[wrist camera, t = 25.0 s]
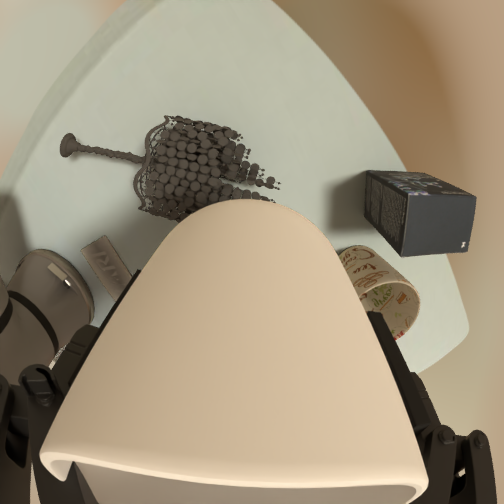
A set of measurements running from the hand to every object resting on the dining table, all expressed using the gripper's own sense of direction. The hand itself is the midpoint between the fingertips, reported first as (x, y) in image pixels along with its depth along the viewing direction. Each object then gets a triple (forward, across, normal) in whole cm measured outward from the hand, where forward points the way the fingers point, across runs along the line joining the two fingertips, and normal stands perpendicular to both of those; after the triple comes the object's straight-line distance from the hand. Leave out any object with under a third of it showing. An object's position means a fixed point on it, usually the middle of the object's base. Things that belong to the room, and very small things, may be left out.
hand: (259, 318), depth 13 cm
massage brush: (+11, -10, 0) cm, 15 cm away
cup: (+1, +1, 0) cm, 1 cm away
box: (+20, +15, +4) cm, 25 cm away
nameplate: (+20, -11, -17) cm, 28 cm away
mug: (+20, +15, -8) cm, 26 cm away
